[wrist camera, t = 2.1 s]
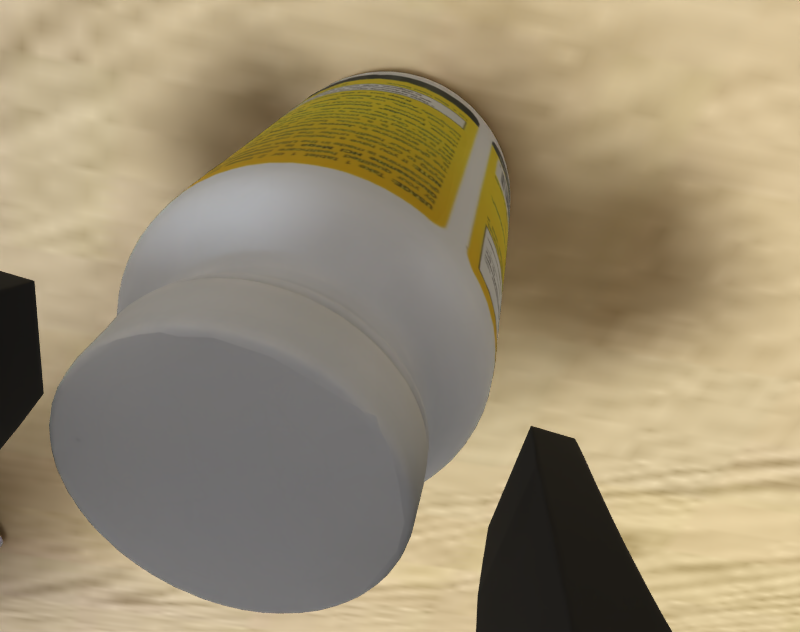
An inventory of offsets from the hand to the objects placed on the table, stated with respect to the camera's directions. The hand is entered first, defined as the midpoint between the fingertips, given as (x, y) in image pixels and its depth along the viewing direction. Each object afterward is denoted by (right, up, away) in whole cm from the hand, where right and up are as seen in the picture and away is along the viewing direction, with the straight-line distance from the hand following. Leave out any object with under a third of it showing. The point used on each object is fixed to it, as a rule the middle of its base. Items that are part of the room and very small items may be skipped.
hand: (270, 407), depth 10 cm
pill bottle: (+2, +5, +8) cm, 10 cm away
